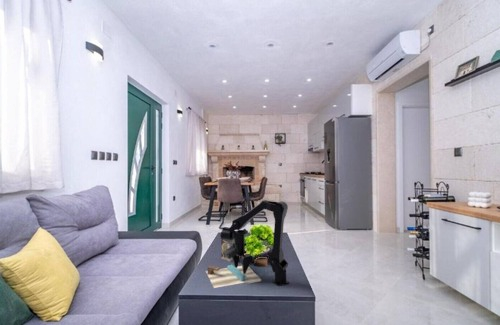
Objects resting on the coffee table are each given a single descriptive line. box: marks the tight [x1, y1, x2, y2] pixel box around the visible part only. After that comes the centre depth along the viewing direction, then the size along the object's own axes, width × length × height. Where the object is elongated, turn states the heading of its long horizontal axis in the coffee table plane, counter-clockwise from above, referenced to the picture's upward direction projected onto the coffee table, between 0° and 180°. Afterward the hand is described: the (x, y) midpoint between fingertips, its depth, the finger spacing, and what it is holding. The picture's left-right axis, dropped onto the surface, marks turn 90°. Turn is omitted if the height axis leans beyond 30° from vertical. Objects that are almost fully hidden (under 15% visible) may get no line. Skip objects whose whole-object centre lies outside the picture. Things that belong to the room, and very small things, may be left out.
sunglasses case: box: [253, 257, 269, 268], centre depth 156 cm, size 18×7×7 cm
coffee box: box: [220, 238, 234, 263], centre depth 159 cm, size 9×6×16 cm
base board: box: [205, 265, 262, 289], centre depth 134 cm, size 21×24×1 cm
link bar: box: [226, 264, 247, 281], centre depth 135 cm, size 18×3×2 cm, turn 27°
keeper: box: [207, 265, 221, 275], centre depth 136 cm, size 6×3×3 cm, turn 60°
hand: (240, 270), depth 137 cm, fingers open, 9 cm apart
